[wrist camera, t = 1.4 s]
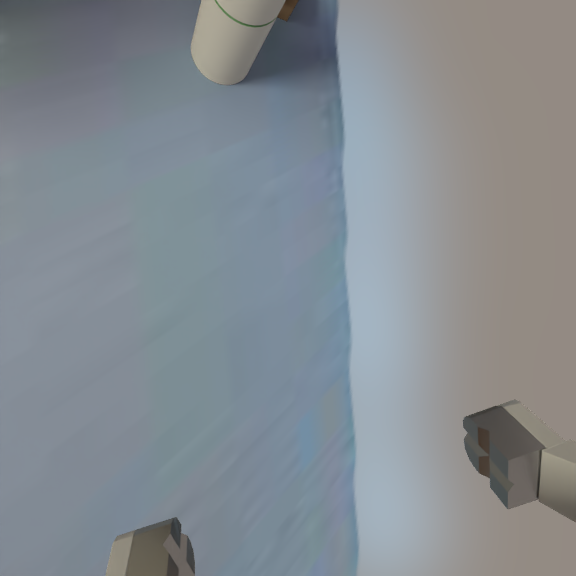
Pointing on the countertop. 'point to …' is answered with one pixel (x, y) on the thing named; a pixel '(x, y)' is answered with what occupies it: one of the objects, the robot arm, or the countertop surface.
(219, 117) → the countertop surface
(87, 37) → the countertop surface
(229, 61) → the cylindrical container
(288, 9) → the walnut block
